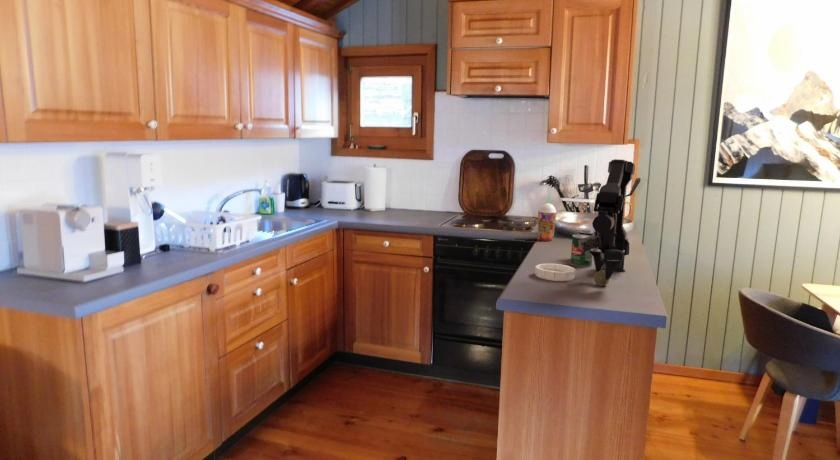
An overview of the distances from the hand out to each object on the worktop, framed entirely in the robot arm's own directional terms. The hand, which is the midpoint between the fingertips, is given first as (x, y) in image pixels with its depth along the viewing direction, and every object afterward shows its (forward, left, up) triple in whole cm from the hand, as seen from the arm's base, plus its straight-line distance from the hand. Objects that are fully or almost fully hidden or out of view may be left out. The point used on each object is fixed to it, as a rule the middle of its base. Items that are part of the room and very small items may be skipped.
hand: (602, 275), depth 189 cm
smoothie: (0, -80, -3) cm, 80 cm away
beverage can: (-6, -40, -3) cm, 40 cm away
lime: (0, 0, -3) cm, 3 cm away
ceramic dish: (+13, -10, -3) cm, 17 cm away
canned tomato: (-2, -30, -3) cm, 30 cm away
